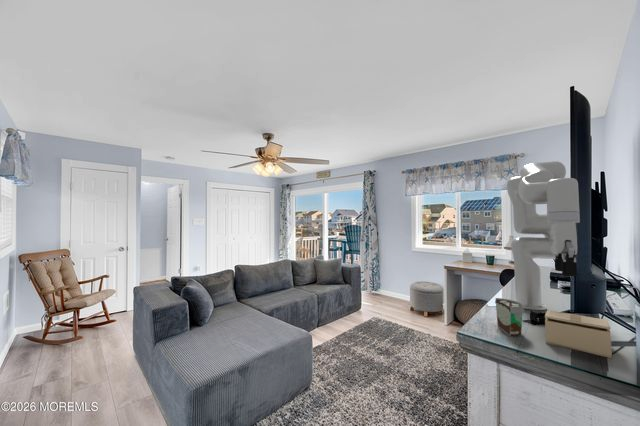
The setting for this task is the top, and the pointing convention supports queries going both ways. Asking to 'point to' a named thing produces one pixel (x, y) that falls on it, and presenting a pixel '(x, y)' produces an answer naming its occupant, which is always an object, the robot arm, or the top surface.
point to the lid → (578, 319)
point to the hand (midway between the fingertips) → (565, 273)
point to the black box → (534, 316)
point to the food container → (509, 316)
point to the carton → (579, 337)
